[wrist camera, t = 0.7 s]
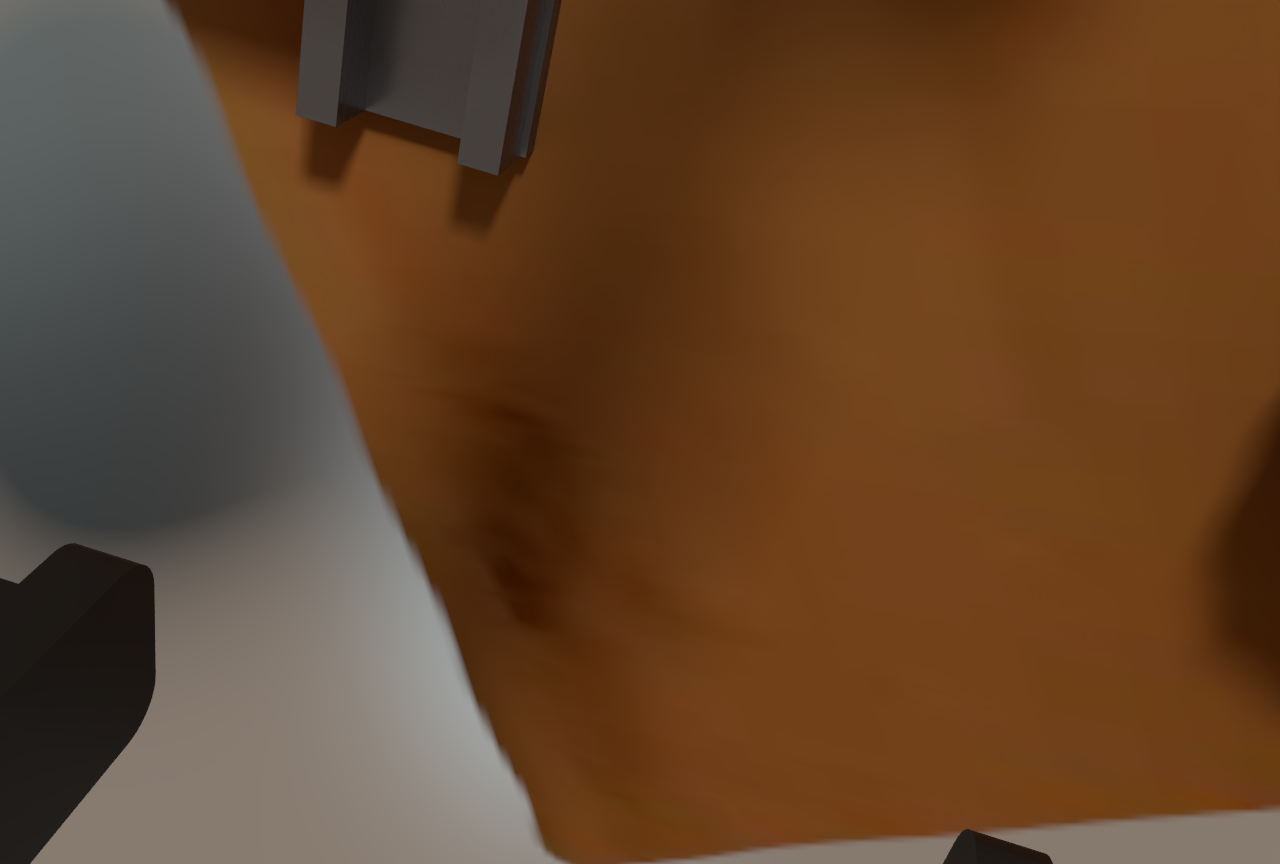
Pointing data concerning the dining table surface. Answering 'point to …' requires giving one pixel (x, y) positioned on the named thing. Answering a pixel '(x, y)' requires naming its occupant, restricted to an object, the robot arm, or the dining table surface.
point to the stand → (432, 68)
